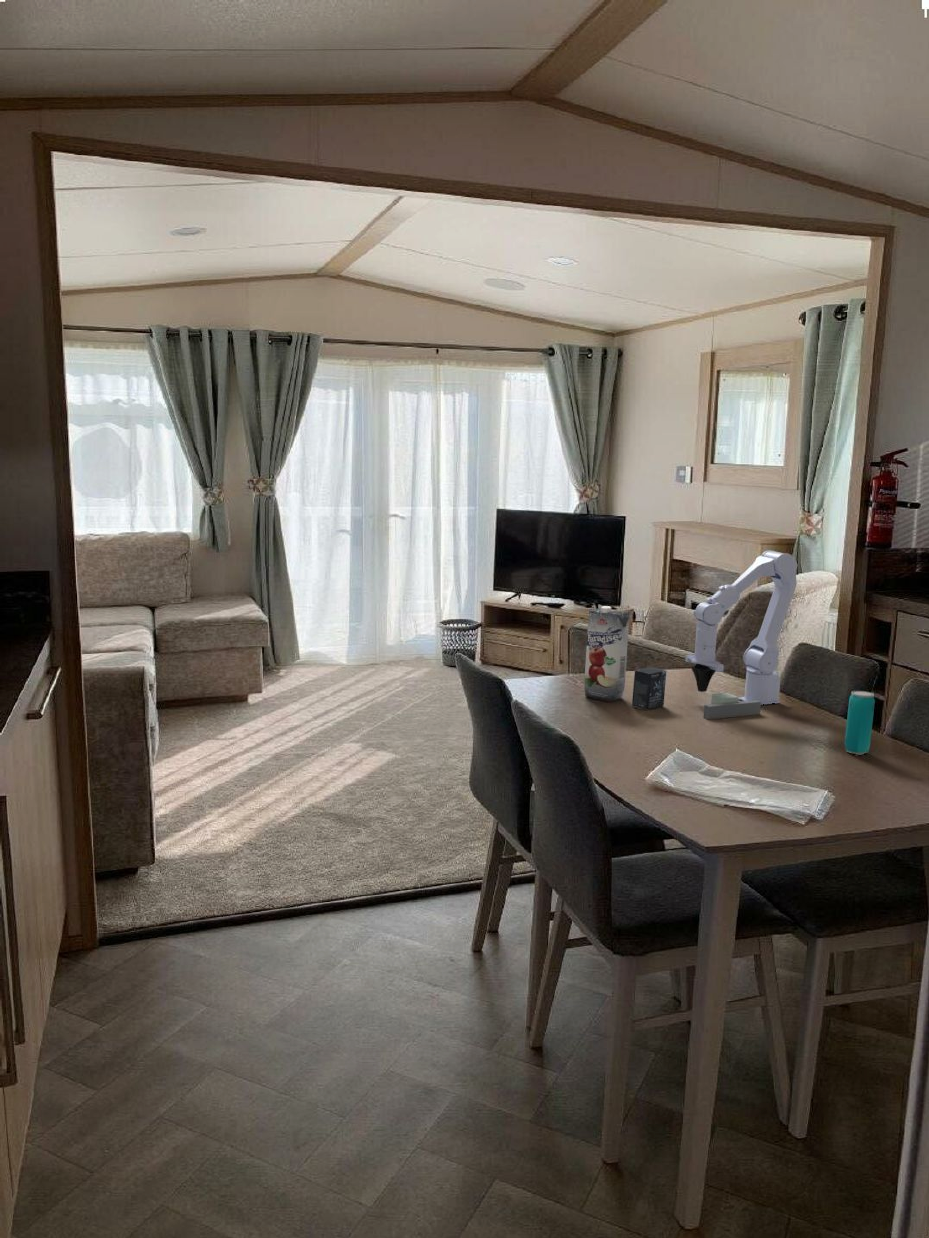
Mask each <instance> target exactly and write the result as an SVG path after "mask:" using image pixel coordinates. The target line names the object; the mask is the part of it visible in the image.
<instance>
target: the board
mask: <svg viewBox="0 0 929 1238" xmlns="http://www.w3.org/2000/svg"><path fill="white" fill-rule="evenodd" d="M761 706H762V705H761V702H760V701H757V700H752V701H742V700H740V701H738V702H730V703H719V704H711V703H710V704H704V706H703V707H704V708H703V716H702V717H703V718H704V719H707V720H713V719H725V718H733V717H744V716H753V715H760V714H761V708H762V707H761Z"/></svg>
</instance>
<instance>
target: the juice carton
mask: <svg viewBox="0 0 929 1238" xmlns="http://www.w3.org/2000/svg"><path fill="white" fill-rule="evenodd" d="M629 624H630V611H627V610H614V609H612V606H608V605H603V606H601V607H598V608H595V609H591V610H589V611H588V622H587V632H586V633H587V634H586V635H587V636H586V647H585V648H586V650H585V651H586V652H585V668H584V696H585V698H588V697H591V698H590V699H593V698H595V699H594V700H598V699H599V701H604V702H609V703H613V702H614V701H617V700H620V699H622V698H623V696H624V695H623V694H624V691H625V686H626V673H627V672H626V671H627V661H628V660H627V658H628V643H629V642H628V641H629V627H630V625H629ZM619 698H620V699H619Z"/></svg>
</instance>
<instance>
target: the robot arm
mask: <svg viewBox="0 0 929 1238" xmlns="http://www.w3.org/2000/svg"><path fill="white" fill-rule="evenodd" d="M797 568H798V563H797V561H796V559H795V558H794V556H793V555H792V554H790V553H785V552H784V553H783V552H779V551H775V550H772V549H768V550H765V551H763V552H762V554H761V555H759V556H757V557H756V559H755V560H754V562H753V563H752V564H751V565H750V566H749V567H748V569H746V570H745V571H744V572H743V573H742V574H741V575H740V576H739V577H738V578H737V579H736V580H735V581H734V582H733V583H732V584H725V585H721V586H719V587H718V590H717V591H716V592H715V593H714V594H713V595H712V596H711V597H707V598H706V601H704V602H700V603H699V604H698V605H697V606H696V608H695V609H694V611H693V617H694V618H695V620H696V628H695V629H696V630H695V643H694V645H695V646H694V655H693V654H686V655H685V662H687V663H692V664H694V666H691V671H692V672H693V676H694V678H695V682H696V687H697V688H696V689H697V691H698V692H701V693H703V692H707V691H708V687H709V684H710V682H711V680H712V679H713V676H714V674H716V673H721V672H722V673H723V672H724V668H725V665H724V664H722V663H720V662H719V661H717V660H716V648H717V634H718V623H721V621H722V619H723V615H724V614H725V613H726V612H727V611H728V610H729V609H730V608H731V607H732V606H734V605H735V604H736V603H737V602H739V600H740V599H741V598H740V596H741V593H743V592H744V591H745V590H746V589H748V588H750V586H752V585H753V584H754V583H756V582H757V581H758V580H759V579H760V578H763V577H770V578H771V580H772V582H773V584H774V588H773V591H772V594H771V598H770V600H769V604H768V606H767V609H766V613H765V614H764V618H763V621H762V623H761V627H760V629H759V633H758V634H757V637H755V638H753V640H752V641H751V642H750V644H749V646H748V648H746V650H745V651H744V653H743V662H744V664H745V665H746V673H745V674H746V677H745V686H744V696H737V697H738V700H740V701H752V700H757V701H760V702H761V706H763V704H764V705H773V704H772V703H775V704H780V703H781V700H779V698H780V690H781V687H780V686H781V678H780V676H779V674H778V673H777V672H776V670H777V669H778V666H779V655H780V651H781V650H780V649H779V645H778V643H777V642H778V640H779V637H780V634H781V631H782V628H783V625H784V622H785V619H786V616H787V613H788V610H789V608H790V605H791V602H792V599H793V596H794V595H795V594H794V593H795V591H796V588H797Z"/></svg>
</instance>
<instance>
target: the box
mask: <svg viewBox="0 0 929 1238" xmlns="http://www.w3.org/2000/svg"><path fill="white" fill-rule="evenodd" d="M666 679H667V670H665V669H662V668H657V667H652V666H649V667H645V668H640V669H634V677H633V687H632V688H633V689H632V701H631V706H632V707H634V708H637V709H641V710H646V711H649V710H652V709H656V708H660V707H661V708H662V707H664V703H665V692H666V691H665V690H666Z"/></svg>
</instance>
